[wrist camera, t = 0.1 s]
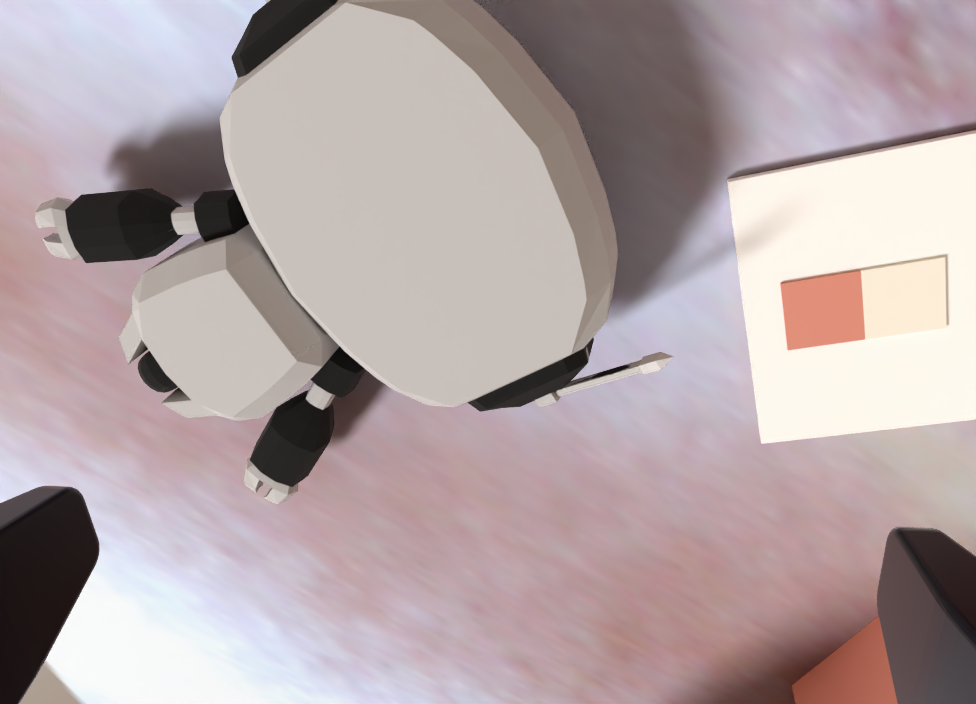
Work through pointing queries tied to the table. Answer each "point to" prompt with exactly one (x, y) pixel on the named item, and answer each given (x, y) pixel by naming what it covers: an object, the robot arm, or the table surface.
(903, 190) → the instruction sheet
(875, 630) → the red block
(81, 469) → the table surface
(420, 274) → the robot toy
